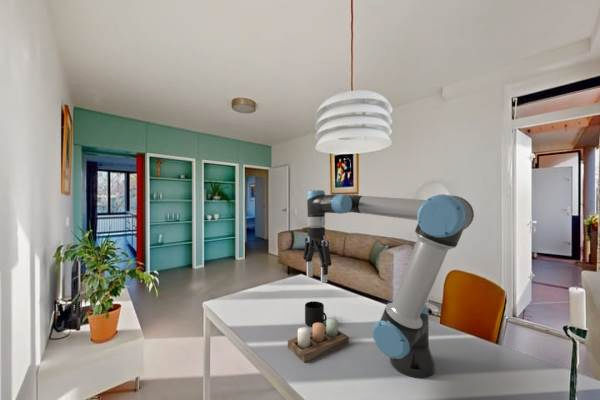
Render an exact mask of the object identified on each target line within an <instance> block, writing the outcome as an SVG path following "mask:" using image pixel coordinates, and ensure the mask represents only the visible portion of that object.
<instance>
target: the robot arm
mask: <svg viewBox="0 0 600 400" xmlns="http://www.w3.org/2000/svg"><path fill="white" fill-rule="evenodd" d="M306 203H307V205H306V206H307V207H306V208H307V226H308V227H307V236H308V237H305V238H304V249H303V250H304V251H303V256H302V258H303V260H305V262H306V277H307V278H311V277H314V273H313V272H314V268H313V267H314V263H313V262H314V260H313V257H314V254H315V251H316V252H317V254H318V257H319V260H320V263H321V266H320V284H325V283H327V282H328V275H329V267H330V266H332V264H333V263H332V257H331V252H330V241H329V240H325V239H324V237H325V236H326V227H325V226H326V214H327V213H328V214H347V213H354V214H355V213H356V214H365V215H373V216H379V217H388V218H397V219H403V220H410V221H411V220H412V221H417V225H416V227H415V231H414V234H415V236H416V238H417V240H416V242H415V245H414V247H413V249H412V252H411V254H410V257H409V259H408V263H407V265H406V268H405V270H404V272H403V275H402V277H401V278H402V279H401V280H400V282H399V286H398V288H397V291H396V293H395V296H394V299H393V301H391V302H388V303H387V304H386V305H385V308H384V310H383V313H382V316H381V318H380V320H378V321H376V322H375V324H374V325H373V327H372V332H371V333H372V338H373V341H374V342H375V345H376V347H377V348H378V349H379V351H380V352H381V353H383V354H384V355H385V356H386V357H389V363H390V364H391V366H392V367H393V368H394V370H396V371H398V372H399V373H401V374H403V375H405V376H408V377H412V378H419V379H423V378H424V379H425V378H428V377H431V376H432V375H434V373H435V361H434V358H433V355H432V352H431V349H430V345H429V344H430V339H429V338H430V336H429V331H430V330H429V326H430V325H429V323H430V322H429V316H430V314H429V308H428V306H427V305H426V303H427V301H428V299H429V296H430V294H431V290H432V289H433V287H434V284H435V282H436V279H437V277H438V275H439V272H440V270H441V268H442V265H443V263H444V260H445V259H446V256H447V253H448V251H450V250H451V249H455V248H456V247H457V246H458V244H459V242H460V239H461V236H462V235H463V233H464V230H466V229H468V228H469V227H470V225H471V224H472V223H473V221H474V217H475V212H474V208H473V206H472V205H471V203H470V202H469V201H468V200H466V199H465V198H463V197H461V196H457V195H450V194H436V195H434V196H431V197H428V198H426V199H416V198H414V199H413V198H404V197H403V198H401V197H400V198H399V197H389V196H387V197H385V196H370V195H359V194H345V193H344V194H343V193H338V194H337V193H336V194H326V192H325V191H324V190H322V189H321V190H320V189H319V190H315V189H313V190H309V191H308V192H307V197H306Z"/></svg>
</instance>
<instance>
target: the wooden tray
mask: <svg viewBox="0 0 600 400" xmlns="http://www.w3.org/2000/svg"><path fill="white" fill-rule="evenodd" d="M324 332H325V340H324V342H321V343H316V342H314V341H313V331H310V347H308V348H306V349H301V348H299V347H298V336H297V337H293V338H290V339H288V340H287V348H288V350H289V351H291V352H292V354H294V355H295V356H296V357H297V358H298V359H300V361H302V362H303V364H304V363H307V362H309V361H311V360H314V359H316V358H318V357H321V356H323V355H326V354H328V353H330V352H332V351H335V350H337V349H340V348H342V347H344V346H347V345H349V344H350V342H349V338H350V337H349V336H348V335H346V334H345V333H344V332H342V331H340V330H339V329H338V336H336V337H334V338H332V337H329V336H327V334H326V326H324Z"/></svg>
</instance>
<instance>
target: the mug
mask: <svg viewBox="0 0 600 400" xmlns="http://www.w3.org/2000/svg"><path fill="white" fill-rule="evenodd" d="M327 319H328V318H327V314H326V313H325V306H324V302H321V301H313V300H312V301H308V302H306V303H305V304H304V323H305V325H306V326H307V327H311V328H313V324H314V323H323V324H324V325H325V322H326V320H327Z"/></svg>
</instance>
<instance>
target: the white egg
mask: <svg viewBox="0 0 600 400" xmlns="http://www.w3.org/2000/svg"><path fill="white" fill-rule="evenodd" d="M310 332H311V330H310V328H309V327H305V326H303V327H299V328H298V329H297V337H298V347H299V348H300V349H301V350H303V349H306V348H308V347H310Z"/></svg>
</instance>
